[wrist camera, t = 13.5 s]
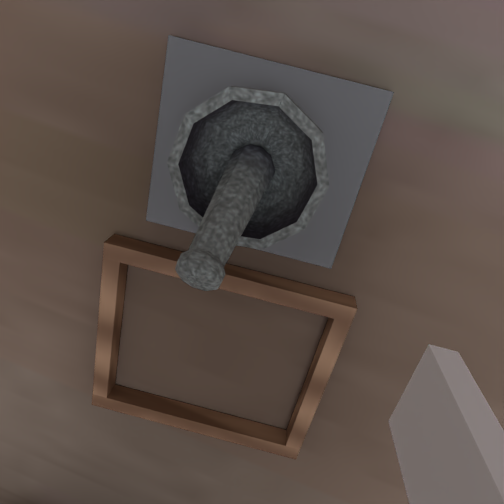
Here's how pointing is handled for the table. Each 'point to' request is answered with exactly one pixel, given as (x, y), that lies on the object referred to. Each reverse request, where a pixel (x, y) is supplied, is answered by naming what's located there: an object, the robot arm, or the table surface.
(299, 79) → the rubber mat
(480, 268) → the table surface
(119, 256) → the frame
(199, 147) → the mortar and pestle
